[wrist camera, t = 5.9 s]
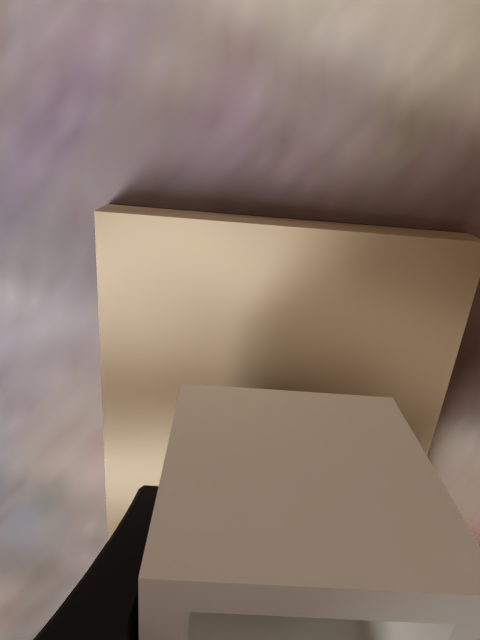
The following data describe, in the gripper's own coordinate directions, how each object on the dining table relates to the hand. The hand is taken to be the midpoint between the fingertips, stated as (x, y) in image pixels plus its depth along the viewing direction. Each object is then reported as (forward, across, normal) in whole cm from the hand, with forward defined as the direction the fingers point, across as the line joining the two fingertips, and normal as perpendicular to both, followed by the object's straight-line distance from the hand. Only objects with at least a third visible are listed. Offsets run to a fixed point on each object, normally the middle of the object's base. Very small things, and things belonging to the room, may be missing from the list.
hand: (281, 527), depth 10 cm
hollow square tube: (+2, 0, 0) cm, 2 cm away
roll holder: (+5, 0, 0) cm, 5 cm away
